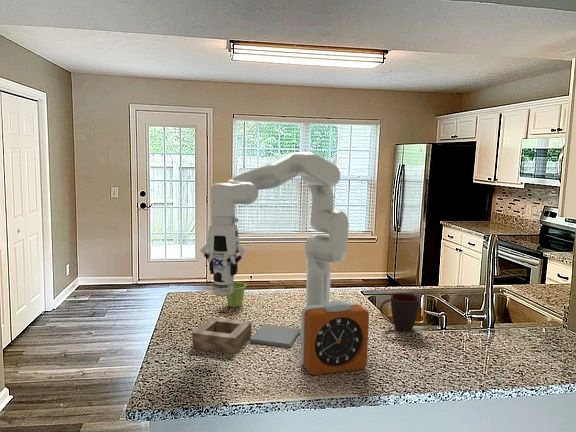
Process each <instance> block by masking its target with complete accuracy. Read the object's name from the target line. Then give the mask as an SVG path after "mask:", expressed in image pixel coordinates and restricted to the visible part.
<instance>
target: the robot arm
mask: <svg viewBox="0 0 576 432" xmlns="http://www.w3.org/2000/svg"><path fill="white" fill-rule="evenodd" d="M299 176H300V177H301V179H302V181H303V182H304V184H306V185H307V187H308V188H309V190H310V193H311V211H310V227H311V228H312V229H313V230H314V231H317V232H320V233H324V234H328V236H327V235H323V234H313V235H310V236H309V237H308V238H307V239H306V240H305V244H304V252H305V253H304V254H305V260H306V281H305V282H306V284H305V285H306V288H305V290H306V291H305V292H306V293H305V294H306V295H305V305H304V306H303V307H305V306H310V305H322V304H326V303H328V302H331V301H332V300H331V299H330V298H331V295H330V294H331V266H330V263H332V264H339V263H341V262H342V261H343V260H344V259H345V257H346V254H347V251H348V250H347V248H348V240H349V239H348V238H349V227H350V225H349V222H350V221H349V218H348V216H347V214H346V213H345V212H344V211H342V210H340V209H339V210H338V209H334V201H335V200H334V198H335V197H334V196H335V195H334V192H333V189H332V188H333V187H335V186H336V185H338V183H339V182H340V180H341V172H340V169H339V167H338V166H337V165H336V164H334V163H332V162H331V161H329V160H327V159H326V158H323V157H322V156H320V155H318V154H315V153H313V152H307V151H306V152H305V151H302V152H297V151H296V152H295V151H294V152H290V153H287V155H284V156H283V157H280V158H278V159H277V160H274V161H273V162H270V163H269V164H267V165H264V166H261V167H258V168H253V169H252V170H249V171H245V172H242V173H239V174H238V175H236V176H234V177H232V178H230V179H228V180H226V182H216V183H213V184H211V186H210V224H209V225H208V226H209V227H208V230H207V240H206V244H205V245H204V246H202V248H200V252H201V254H202V255H203V256H204V257H205V259H206V260H207V262H208V263H209V266H208V267H209V271H210V273H209V274H210V275H213V250H214V236H225V237H226V245H227V251H228V255H229V256H230V259H231V261H232V264H231V275H232V276H233V277H234V276H235V275H237V273H238V272H239V271H238V263H239V262H240V261H241V260H242V259H243V257H245V255H247V251H246V250H245V249H244V248H243V247H242V246H241V245H240V237H239V236H240V235H239V234H240V233H239V228H238V224H236V223H238V222H239V218H238V217H235V216H236V215H235V205H244V206H245V205H246V206H247V205H248V206H249V205H252V204H253V203H255V202H256V201H257V199H258V197H259V190H269V189H273V188H278V187H280V186H282V185H284V184H286V183H287V182H288V181H291V180H293V179H294V178H297V177H299ZM238 253H239V255H237V254H238ZM303 307H302V309H303ZM302 309H301V310H302Z"/></svg>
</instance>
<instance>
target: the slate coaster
mask: <svg viewBox="0 0 576 432" xmlns="http://www.w3.org/2000/svg"><path fill="white" fill-rule="evenodd" d="M300 331H301V328H298V327H290V326H282V325H281V326H280V325H274V324H273V325H271V324H264V323H262V324H261V326H260V327H259V328H258V329H257V331H256V332H255V333H254V334H253V335H251V337H250V338H249V343H251V344H252V343H253V344H261V345H269V346H274V347H275V346H276V347H283V348H285V347H286V348H291V347H292V345H293V344H294V342H295V340H296V339H297V337H298V335H299V334H300V333H301V332H300Z"/></svg>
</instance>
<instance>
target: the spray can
mask: <svg viewBox="0 0 576 432" xmlns="http://www.w3.org/2000/svg"><path fill="white" fill-rule="evenodd" d="M231 264H232V261H231V259H230V256H229V255H228V251H227V245H226V237H225V236H214V250H213V274H212V275H213V276H212V277H213V278H212V279H213V294H214V295H215V296H217V297H218V296H219V297H227V296H228V295H232V294H233V291H234V282H235V281H234V276H232V275H231Z"/></svg>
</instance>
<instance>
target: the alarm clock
mask: <svg viewBox="0 0 576 432" xmlns="http://www.w3.org/2000/svg"><path fill="white" fill-rule="evenodd" d="M304 306H305V307H304ZM304 306H303V307H302V308H303V309H301V328H300V331H301V332H300V333H301V335H300V339H301V340H300V362H301V363H302V365H303V367H304V368H305V369H306V371H307V372H308V373H309V375H311V376H318V375H327V374H328V375H329V374H334V373H341V372H349V371H350V372H351V371H359V370H363V369H366V367H367V365H368V346H369V345H368V344H369V328H370V327H369V324H370V314H369V311H368V310H367V309H366V308H365V307H363V306H362V305H360V304H359V303H358V302H356V301H348V302H347V301H344V300H331V302H328V303H326V304H322V305H310V306H306V305H304Z"/></svg>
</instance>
